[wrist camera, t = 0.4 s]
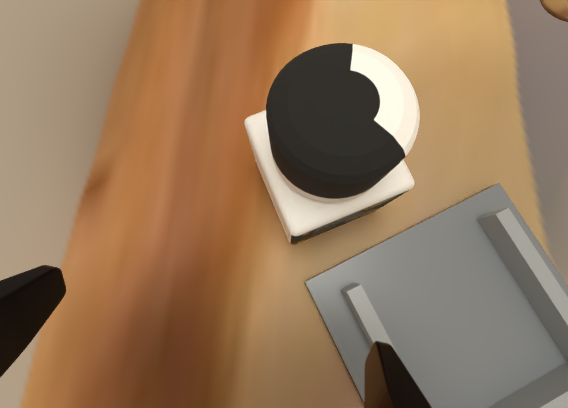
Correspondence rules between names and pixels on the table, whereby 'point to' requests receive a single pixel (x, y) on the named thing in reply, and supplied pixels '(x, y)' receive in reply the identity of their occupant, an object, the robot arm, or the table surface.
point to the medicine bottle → (334, 137)
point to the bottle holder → (457, 308)
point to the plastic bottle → (556, 8)
